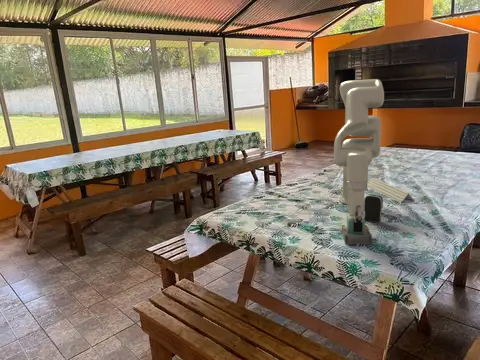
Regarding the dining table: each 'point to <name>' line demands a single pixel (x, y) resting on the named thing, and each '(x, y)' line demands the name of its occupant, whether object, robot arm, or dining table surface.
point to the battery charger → (373, 208)
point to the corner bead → (388, 190)
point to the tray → (357, 237)
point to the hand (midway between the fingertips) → (355, 226)
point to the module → (350, 225)
